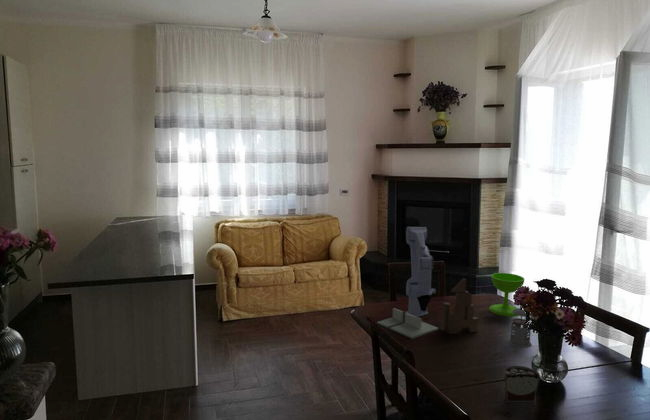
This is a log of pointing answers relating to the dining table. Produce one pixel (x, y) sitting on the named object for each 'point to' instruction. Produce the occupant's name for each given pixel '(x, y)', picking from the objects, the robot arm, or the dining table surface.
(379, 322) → the board
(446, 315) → the wooden toy
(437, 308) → the dining table surface
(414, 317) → the fence panel
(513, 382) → the food container
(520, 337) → the grey box grater
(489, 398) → the dining table surface
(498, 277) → the wineglass
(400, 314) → the base
